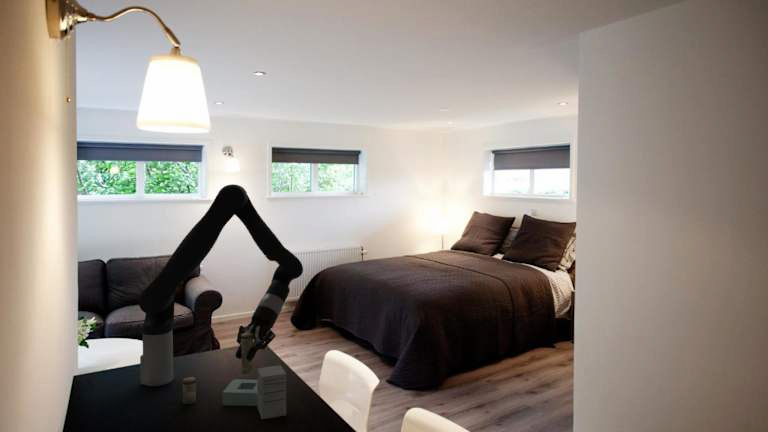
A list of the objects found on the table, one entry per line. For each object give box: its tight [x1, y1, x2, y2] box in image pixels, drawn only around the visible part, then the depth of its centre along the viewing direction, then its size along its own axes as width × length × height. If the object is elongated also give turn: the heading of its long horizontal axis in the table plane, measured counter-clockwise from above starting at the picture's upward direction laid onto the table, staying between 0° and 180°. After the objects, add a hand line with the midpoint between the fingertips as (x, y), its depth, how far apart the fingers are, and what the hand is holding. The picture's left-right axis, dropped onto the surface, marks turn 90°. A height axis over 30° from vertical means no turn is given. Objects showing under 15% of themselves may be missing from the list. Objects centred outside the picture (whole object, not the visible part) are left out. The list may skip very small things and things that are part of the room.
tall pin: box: [241, 333, 255, 375], centre depth 151 cm, size 4×4×12 cm
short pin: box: [182, 376, 197, 405], centre depth 149 cm, size 4×4×7 cm
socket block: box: [222, 378, 257, 407], centre depth 151 cm, size 12×10×4 cm
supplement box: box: [256, 364, 287, 420], centre depth 142 cm, size 7×7×13 cm
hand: (243, 358), depth 149 cm, fingers closed on tall pin, 3 cm apart
